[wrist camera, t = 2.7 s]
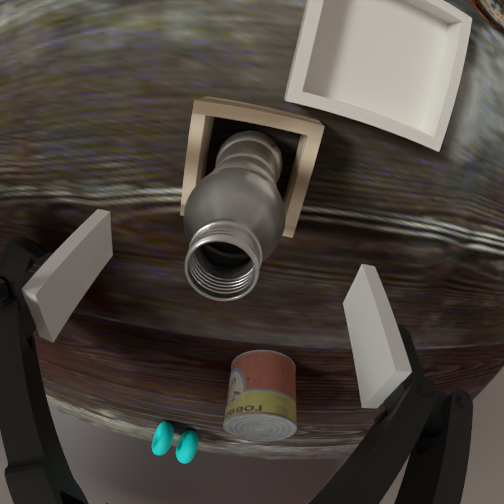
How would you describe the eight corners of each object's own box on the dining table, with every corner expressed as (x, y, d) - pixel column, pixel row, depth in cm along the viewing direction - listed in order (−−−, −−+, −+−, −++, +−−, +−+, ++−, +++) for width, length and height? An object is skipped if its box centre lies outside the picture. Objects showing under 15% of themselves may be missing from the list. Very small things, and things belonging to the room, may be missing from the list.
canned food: (247, 341, 47) (240, 407, 37) (308, 361, 49) (311, 423, 39) (221, 375, 52) (212, 432, 42) (276, 391, 54) (274, 445, 44)
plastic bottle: (290, 137, 30) (314, 232, 13) (269, 194, 33) (263, 334, 16) (230, 118, 29) (166, 187, 12) (213, 177, 32) (149, 301, 16)
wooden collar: (290, 215, 34) (292, 237, 30) (191, 195, 34) (180, 215, 30) (316, 118, 28) (324, 126, 24) (206, 96, 28) (194, 100, 23)
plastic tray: (422, 142, 28) (439, 152, 25) (284, 97, 27) (285, 100, 24) (453, 21, 19) (472, 18, 16) (315, -36, 19) (320, -49, 15)
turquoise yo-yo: (166, 415, 65) (157, 449, 57) (202, 427, 67) (196, 461, 59) (155, 425, 70) (147, 455, 62) (189, 436, 72) (183, 467, 64)
